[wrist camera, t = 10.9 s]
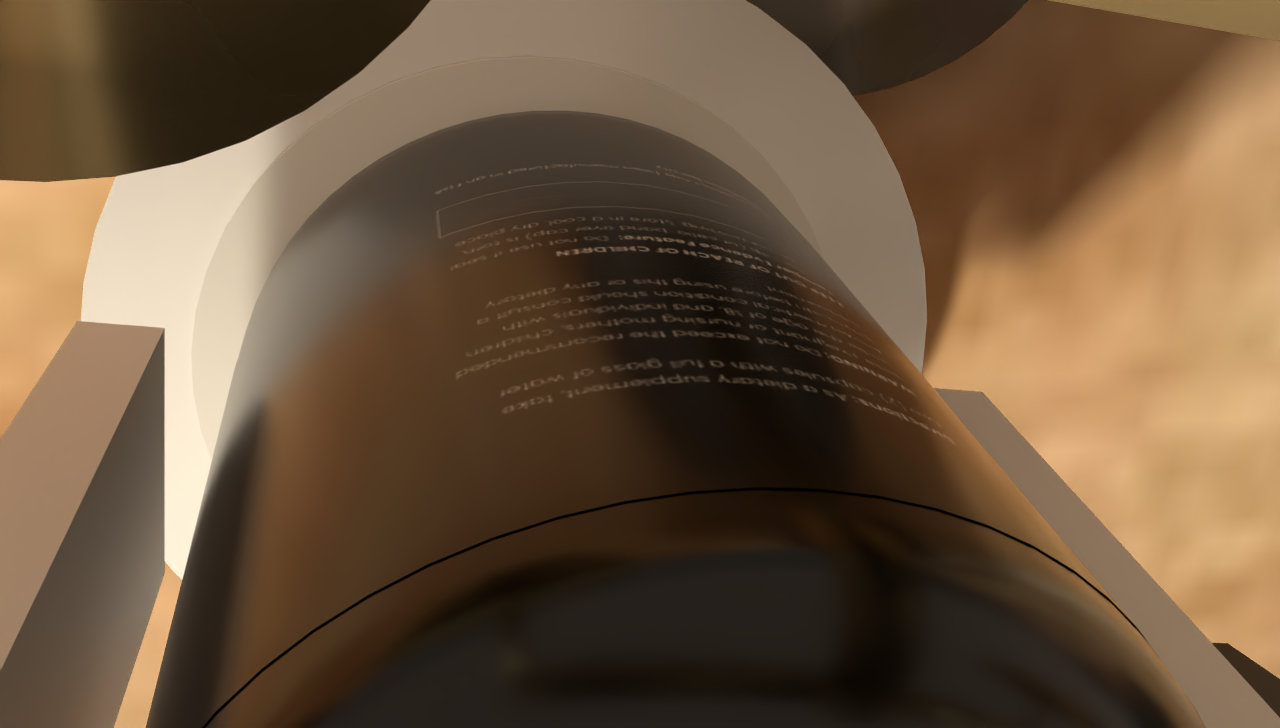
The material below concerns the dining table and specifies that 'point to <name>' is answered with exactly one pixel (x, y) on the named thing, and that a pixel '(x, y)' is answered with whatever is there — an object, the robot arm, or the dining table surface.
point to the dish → (473, 89)
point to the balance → (352, 38)
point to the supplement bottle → (611, 476)
